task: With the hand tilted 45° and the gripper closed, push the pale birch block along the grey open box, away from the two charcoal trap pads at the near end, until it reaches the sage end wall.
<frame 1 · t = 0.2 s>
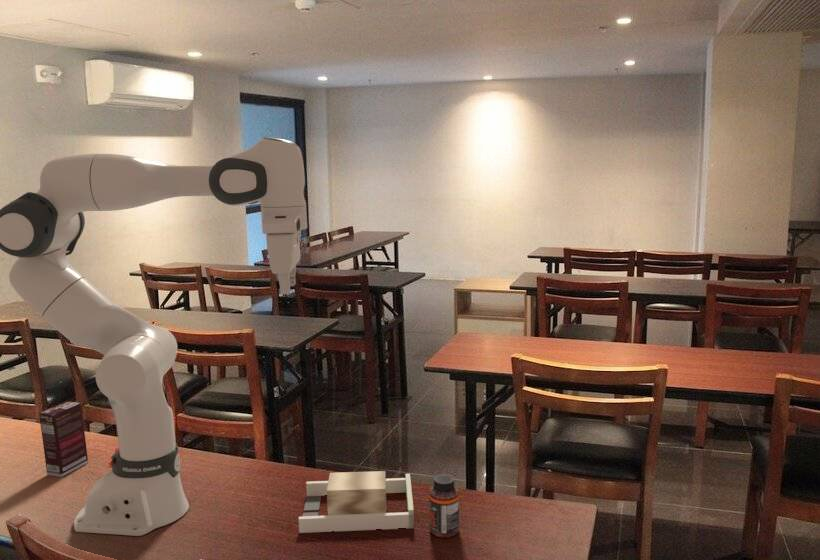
hand: (288, 289, 138), 48 cm above the table, tool pointing down, fingers open, 8 cm apart
supplement box: (67, 469, 168), on the table
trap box: (357, 510, 146), on the table
supplement bottle: (444, 531, 137), on the table
birch block: (357, 511, 146), resting in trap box
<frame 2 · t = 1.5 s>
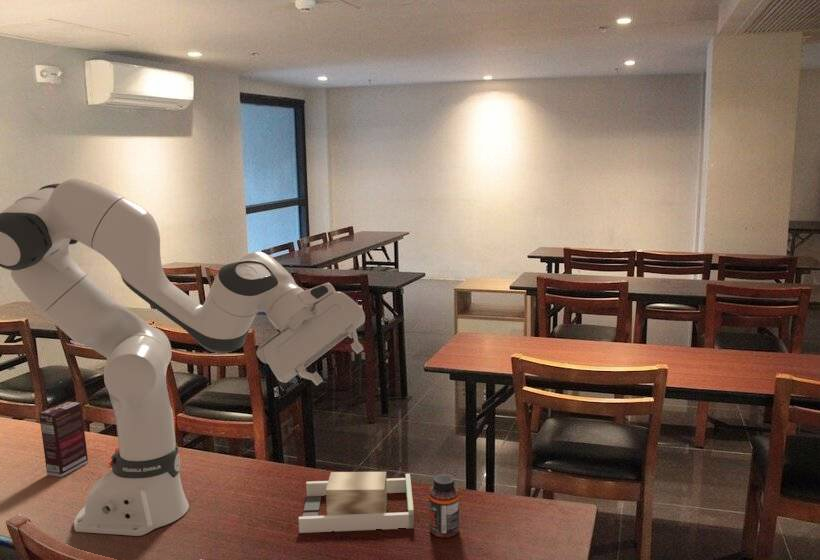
hand: (340, 366, 126), 36 cm above the table, tool tilted 55°, fingers open, 8 cm apart
nothing on the table moved.
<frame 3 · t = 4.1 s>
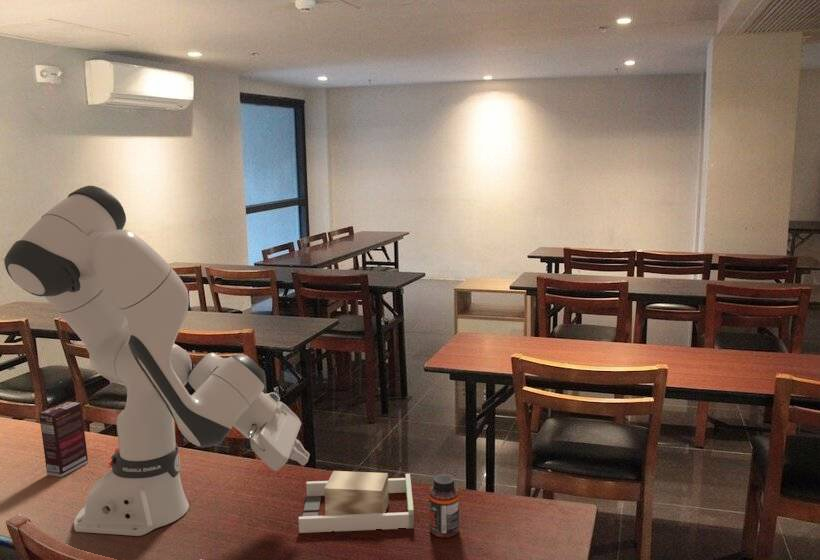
hand: (306, 460, 142), 12 cm above the table, tool tilted 45°, fingers closed
nothing on the table moved.
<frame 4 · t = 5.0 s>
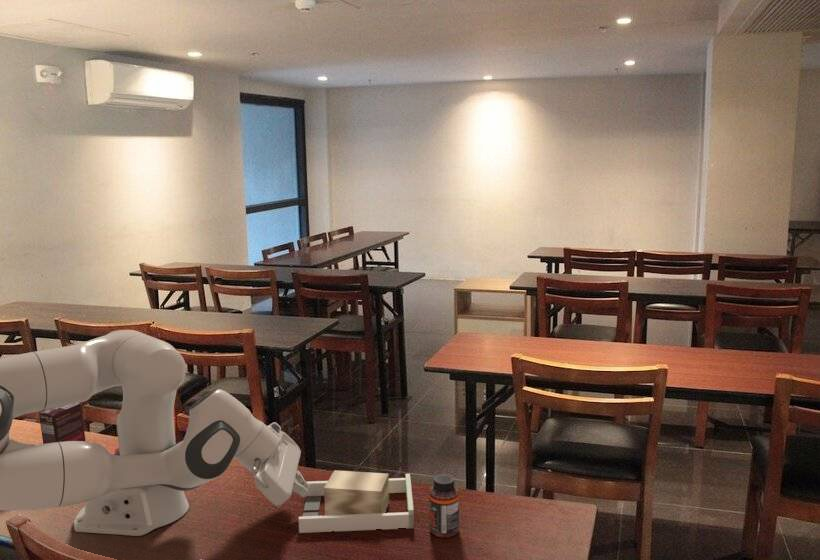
hand: (307, 491, 145), 4 cm above the table, tool tilted 45°, fingers closed
nothing on the table moved.
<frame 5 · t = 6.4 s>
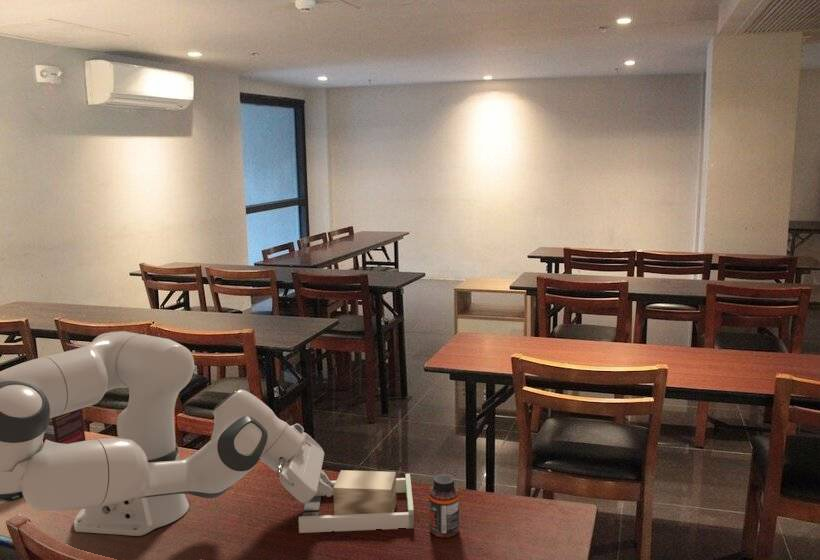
hand: (332, 491, 144), 5 cm above the table, tool tilted 45°, fingers closed
birch block: (366, 510, 146), resting in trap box, touching gripper
everything else where it was.
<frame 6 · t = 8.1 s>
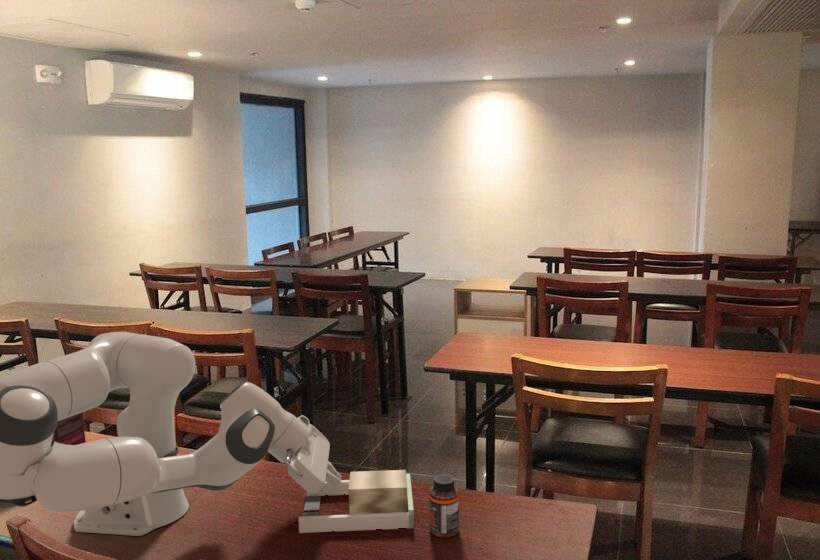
hand: (339, 482, 145), 6 cm above the table, tool tilted 45°, fingers closed
birch block: (378, 509, 146), resting in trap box
everything else where it was.
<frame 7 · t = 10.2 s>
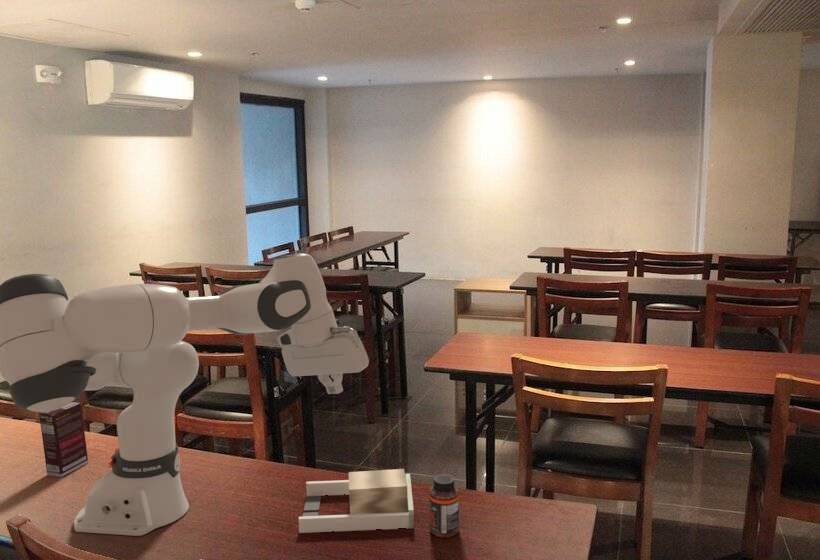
hand: (335, 392, 141), 26 cm above the table, tool tilted 15°, fingers closed
nothing on the table moved.
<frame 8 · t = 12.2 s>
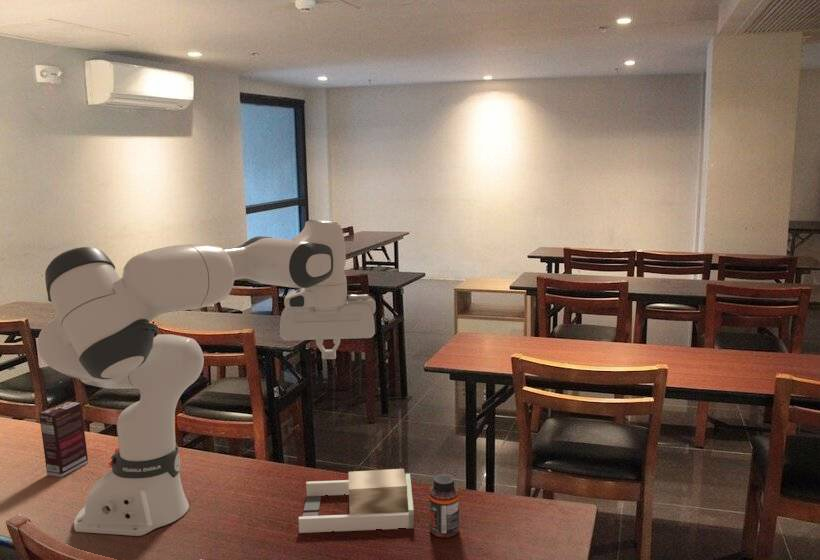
hand: (329, 358, 148), 31 cm above the table, tool pointing down, fingers closed
nothing on the table moved.
at the end: birch block 0.9 cm from the target spot, resting in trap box; birch block tilted 0°; the gripper is holding nothing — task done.
